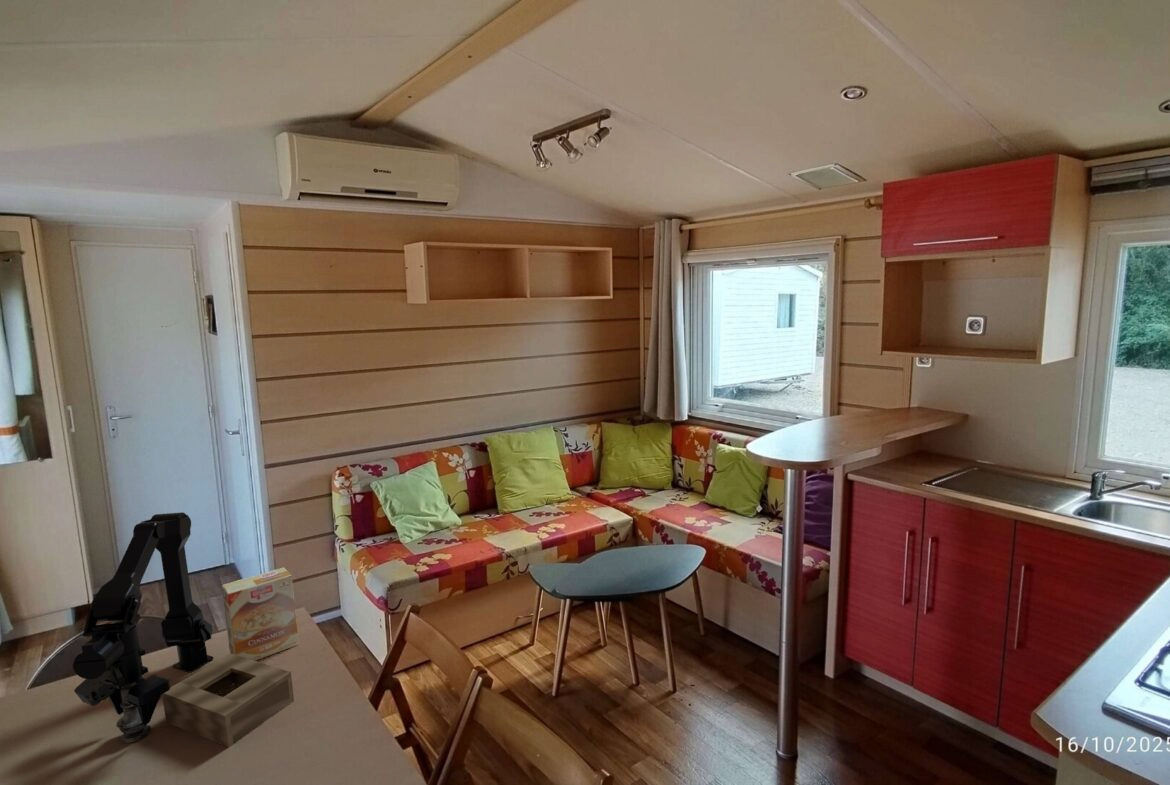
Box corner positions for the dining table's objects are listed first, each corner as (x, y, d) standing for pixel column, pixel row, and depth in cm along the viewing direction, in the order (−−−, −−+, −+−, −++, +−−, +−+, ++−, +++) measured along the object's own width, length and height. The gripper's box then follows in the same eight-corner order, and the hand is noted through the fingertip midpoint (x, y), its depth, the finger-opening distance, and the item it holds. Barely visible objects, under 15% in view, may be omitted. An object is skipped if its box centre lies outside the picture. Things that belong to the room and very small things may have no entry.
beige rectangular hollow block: (166, 722, 138) (161, 692, 137) (233, 680, 152) (230, 653, 151) (229, 747, 129) (224, 715, 128) (294, 700, 144) (290, 671, 143)
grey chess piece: (137, 744, 131) (129, 691, 129) (111, 743, 131) (102, 690, 129) (159, 724, 137) (151, 673, 135) (134, 723, 137) (126, 672, 135)
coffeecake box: (236, 668, 157) (227, 594, 154) (229, 656, 162) (220, 584, 159) (300, 644, 167) (292, 574, 163) (291, 634, 172) (283, 565, 169)
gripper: (51, 661, 128) (63, 731, 130) (107, 682, 120) (119, 757, 122) (111, 633, 137) (122, 699, 140) (166, 651, 130) (177, 720, 132)
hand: (133, 718), depth 133 cm, fingers closed on grey chess piece, 8 cm apart
